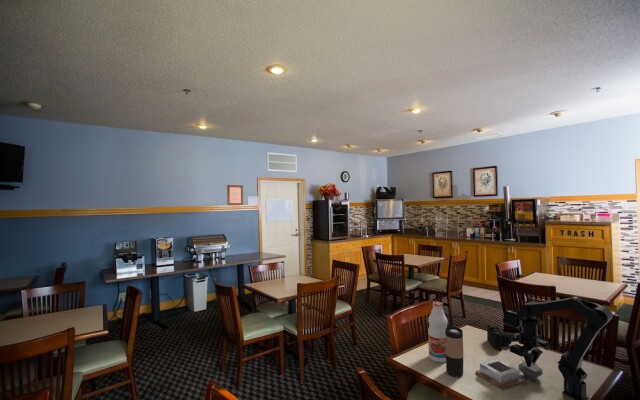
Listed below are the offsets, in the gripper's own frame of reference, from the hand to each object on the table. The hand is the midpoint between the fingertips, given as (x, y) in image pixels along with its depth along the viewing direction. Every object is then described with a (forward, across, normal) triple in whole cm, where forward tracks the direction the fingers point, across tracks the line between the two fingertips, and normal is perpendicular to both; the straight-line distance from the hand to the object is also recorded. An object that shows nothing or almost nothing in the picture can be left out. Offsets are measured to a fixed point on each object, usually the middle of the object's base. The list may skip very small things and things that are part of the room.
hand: (530, 366), depth 146 cm
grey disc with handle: (+5, 0, 0) cm, 5 cm away
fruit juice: (+5, +25, -30) cm, 39 cm away
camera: (+5, -15, -28) cm, 32 cm away
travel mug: (+5, +28, -16) cm, 33 cm away
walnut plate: (+5, +13, -5) cm, 15 cm away
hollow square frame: (+4, +13, -5) cm, 14 cm away
